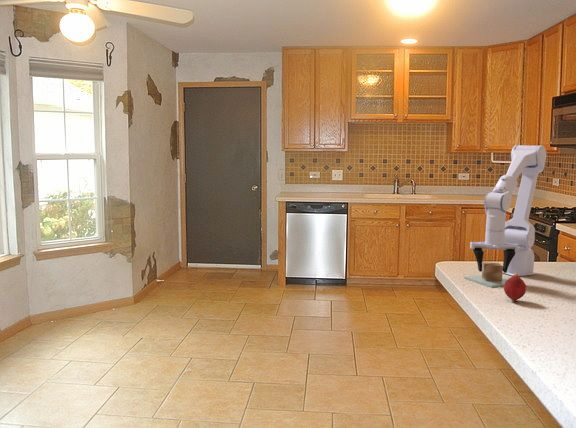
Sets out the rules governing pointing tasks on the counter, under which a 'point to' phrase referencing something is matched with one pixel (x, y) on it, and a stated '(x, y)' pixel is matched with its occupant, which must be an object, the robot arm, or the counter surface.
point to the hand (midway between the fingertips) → (492, 271)
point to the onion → (515, 287)
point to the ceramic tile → (487, 283)
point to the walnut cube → (492, 271)
